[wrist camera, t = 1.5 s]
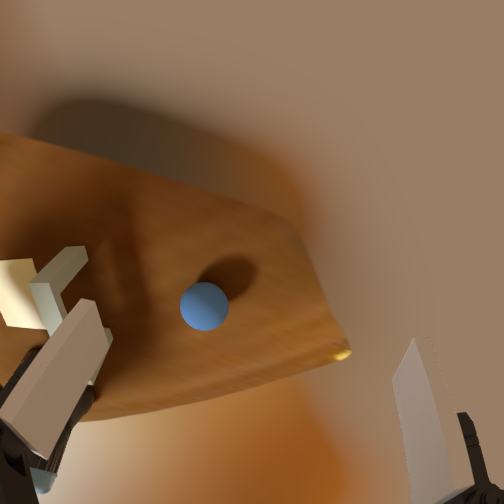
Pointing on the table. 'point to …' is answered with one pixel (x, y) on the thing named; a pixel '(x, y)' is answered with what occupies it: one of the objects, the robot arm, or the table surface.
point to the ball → (204, 306)
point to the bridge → (60, 290)
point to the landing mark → (18, 294)
